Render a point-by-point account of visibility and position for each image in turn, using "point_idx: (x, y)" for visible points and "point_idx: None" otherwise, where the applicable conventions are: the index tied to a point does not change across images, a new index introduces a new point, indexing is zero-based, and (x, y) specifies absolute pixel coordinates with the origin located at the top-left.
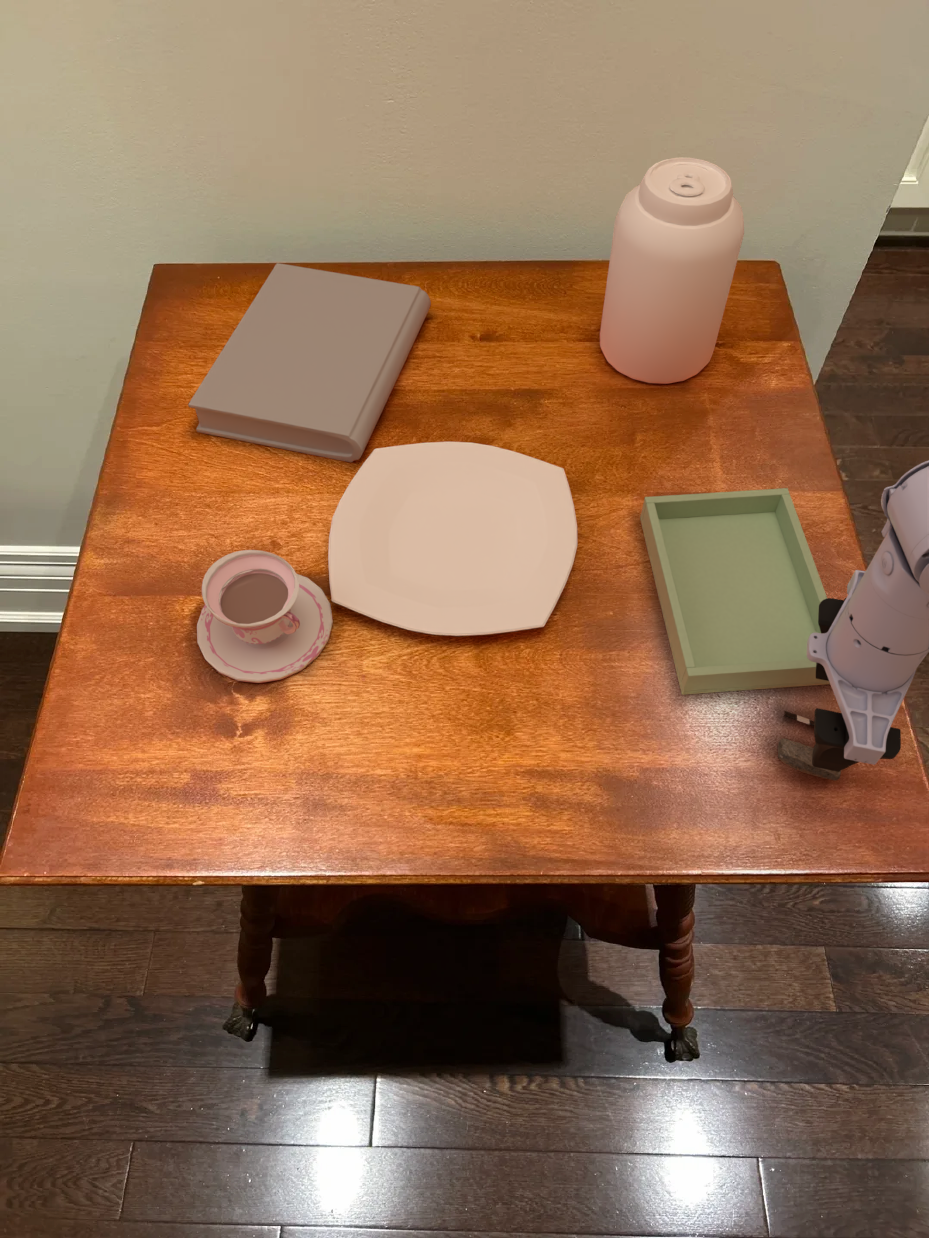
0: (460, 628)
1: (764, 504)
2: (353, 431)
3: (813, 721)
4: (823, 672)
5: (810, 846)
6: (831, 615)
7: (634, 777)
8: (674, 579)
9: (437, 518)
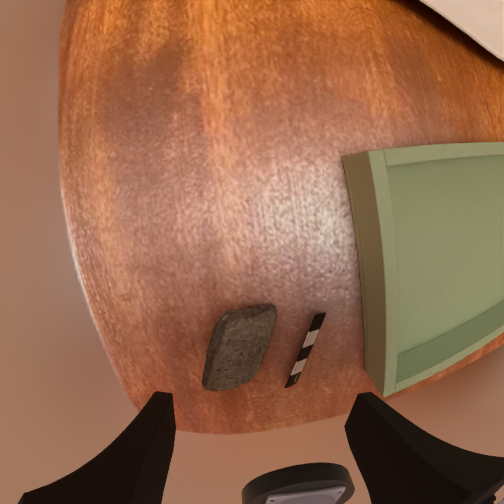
0: None
1: None
2: None
3: (310, 349)
4: (364, 414)
5: (126, 336)
6: (478, 501)
7: (181, 87)
8: (488, 166)
9: None
